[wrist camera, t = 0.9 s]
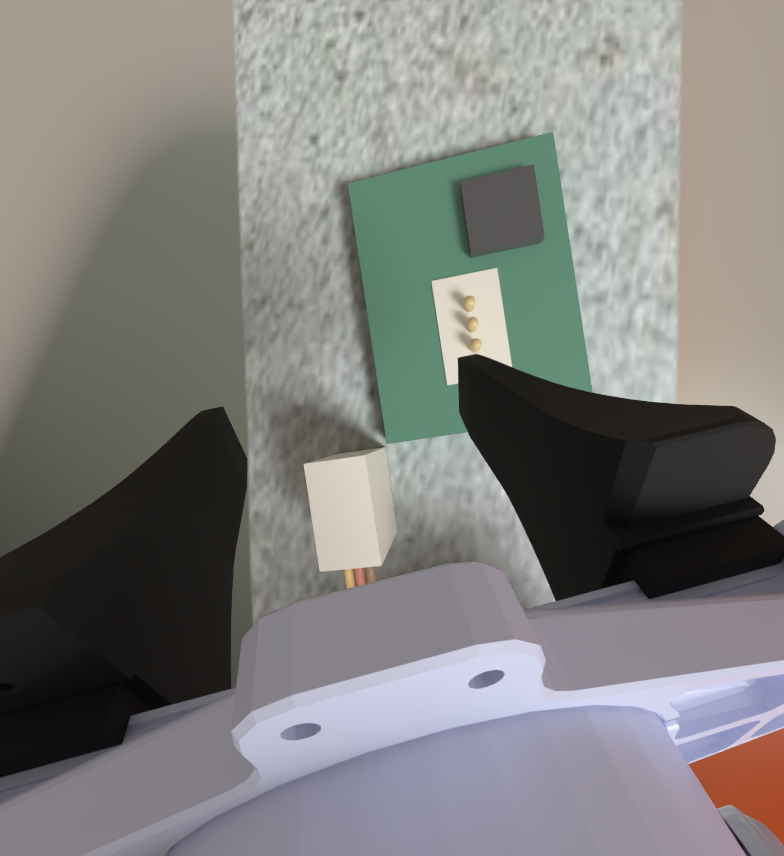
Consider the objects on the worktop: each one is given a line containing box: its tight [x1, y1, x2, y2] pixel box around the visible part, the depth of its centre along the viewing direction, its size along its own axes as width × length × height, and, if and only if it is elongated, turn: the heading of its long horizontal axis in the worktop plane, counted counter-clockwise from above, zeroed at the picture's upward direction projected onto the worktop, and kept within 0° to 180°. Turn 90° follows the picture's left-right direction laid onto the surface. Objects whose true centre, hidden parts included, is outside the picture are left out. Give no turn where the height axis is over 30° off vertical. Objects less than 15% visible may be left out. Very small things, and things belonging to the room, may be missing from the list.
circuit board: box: [348, 132, 592, 444], centre depth 23 cm, size 16×12×3 cm
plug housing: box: [304, 447, 397, 589], centre depth 22 cm, size 7×3×6 cm, turn 9°
